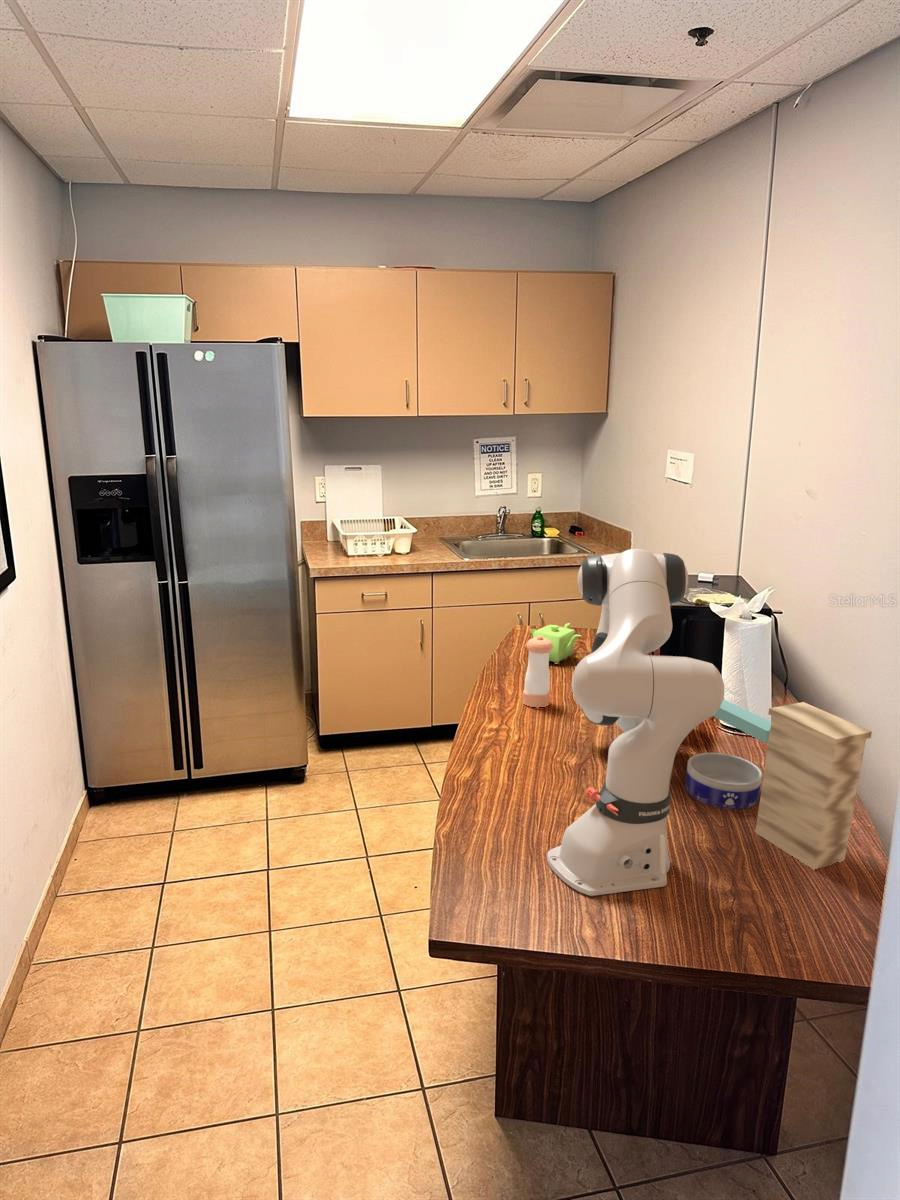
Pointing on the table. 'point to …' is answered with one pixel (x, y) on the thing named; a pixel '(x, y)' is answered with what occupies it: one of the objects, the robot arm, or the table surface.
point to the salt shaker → (537, 673)
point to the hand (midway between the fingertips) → (706, 699)
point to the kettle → (558, 640)
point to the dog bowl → (723, 780)
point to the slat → (744, 720)
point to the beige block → (810, 783)
